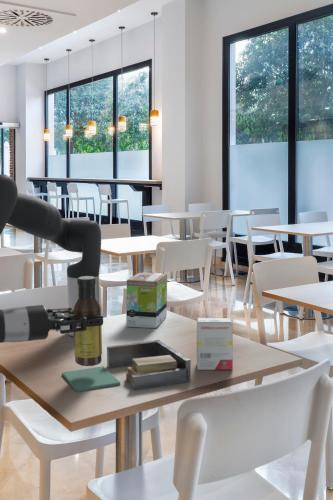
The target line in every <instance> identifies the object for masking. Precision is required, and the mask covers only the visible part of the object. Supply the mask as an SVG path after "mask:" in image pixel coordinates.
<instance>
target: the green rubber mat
mask: <svg viewBox="0 0 333 500" xmlns="http://www.w3.org/2000/svg"><path fill="white" fill-rule="evenodd" d="M61 375H62V376H63V378H65V380H66V381H67V382H68V383H69V385H71V387H72V389H74V390H75V391H76V393H77V392H83V391H85V392H86V391H89V390H90V391H91V390H96V389H97V390H98V389H104V388H109V387H115V386H121V381H120V380H118V379H117V377H116V376H114V375H113V374H112V373H111V372H110V371H109V370H107V368H105V367H104V366H96V367H89V368H82V369H76V370H75V369H74V370H69V371H62V374H61Z"/></svg>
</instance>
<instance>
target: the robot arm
mask: <svg viewBox="0 0 333 500" xmlns="http://www.w3.org/2000/svg"><path fill="white" fill-rule="evenodd" d="M18 191H19V190H18V186H17V183H16V181H15V180H14V179H13V178H12V177H11V176H9V175H6V174H1V173H0V236H1V235H2V233H3V231H4V229H5V227H6V225H9V226H12V227H14V228H16V229H19V230H21V231H23V232H25V233H27V234H29V235H32V236H34V237H37V238H40V239H43V240H45V241H50V242H52V243H53V244H55V245H57V246H59V247H60V248H61V249H63V250H65V251H68V252H70V253H71V252H72V253H82V255H81V256H82V257H81V260H79V261H77V262H76V263H73V264H69V265H68V266H67V268H66V281H67V282H66V285H67V307H66V308H65V307H64V308H63V307H61V308H48V309H47V307H46V306H45V305H43V304H37V305H26V306H25V305H23V306H15V307H8V308H4V309H0V343H1V344H2V343H22V342H32V341H40V340H41V341H43V340H46V339H47V338H48V337H49V332H50V331H55V332H59V333H60V334H61V335H64V334H68V335H69V336H71V337H73V338H74V332H79V331H86V330H87V327H92V326H101V325H102V326H103V325H104V316H103V315H102V314H101V315H97V316H87V317H85V316H77V315H76V314H74V306H75V304H76V302H77V300H78V299H79V296H78V294H79V286H78V283H77V280H78V277H82V276H93V277H95V279H96V283H95V294H96V295H95V298H96V299H97V301H98V303H99V304H100V305H101V299H100V298H101V296H100V294H101V293H100V268H101V263H102V262H101V259H102V256H101V255H102V230H101V226H100V224H99V223H98V222H97V221H96V220H85V219H83V220H82V219H67V218H62V214H61V212H60V210H59V209H58V208H57V207H56V206H54V205H53V204H52V203H50V202H48V201H46V200H44V199H42V198H39V197H37V196H33V195H28V194H24V193H21V192H20V193H19V192H18ZM80 322H81V325H77V323H80Z"/></svg>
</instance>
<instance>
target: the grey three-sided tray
mask: <svg viewBox="0 0 333 500" xmlns="http://www.w3.org/2000/svg"><path fill="white" fill-rule="evenodd" d="M165 355H170V356H171V357H173V358H174V359H175V360H176V361H177V369H171V370H165V371H158V372H152V373H145V374H139V375H132V384H131V390H132V391H133V392H134V391H141V390H147V389H151V388H158V387H164V386H170V385H176V384H182V383H183V384H184V383H187V382H191V376H192V374H191V368H192V367H191V364H192V363H191V362H192V361H191V359H190V358H189V357H187V356H185V355H183V354H182V353H180V352H179V351H178V350H176V349H174V348H173V347H171V346H169V345H168V344H167V343H164V342H163V341H161V340H160V339H154V340H148V341H140V342H133V343H125V344H117V345H112V346H111V345H110V346H109V345H107V346H106V367H107V368H108V369H111V368H119V367H127V366H133V359H136V358H146V357H155V356H165Z"/></svg>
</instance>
